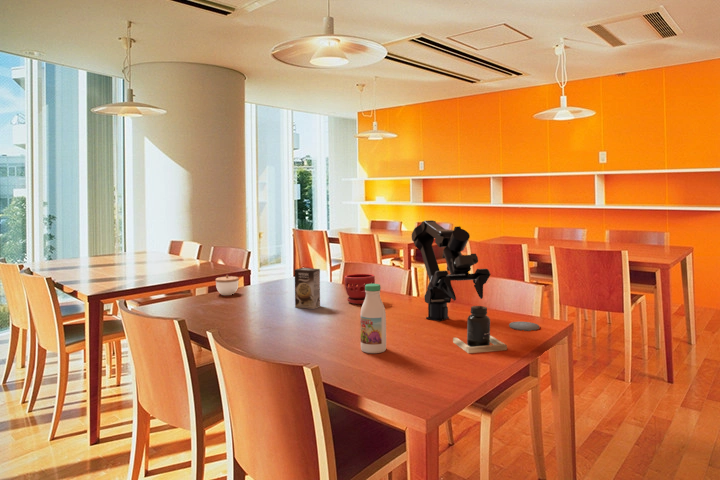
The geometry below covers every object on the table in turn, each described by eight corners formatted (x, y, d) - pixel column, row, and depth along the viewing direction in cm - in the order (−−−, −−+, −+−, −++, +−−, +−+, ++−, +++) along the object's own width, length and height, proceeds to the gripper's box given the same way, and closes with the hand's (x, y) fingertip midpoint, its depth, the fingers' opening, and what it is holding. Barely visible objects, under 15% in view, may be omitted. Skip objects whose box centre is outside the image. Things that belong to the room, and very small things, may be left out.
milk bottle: (369, 344, 154) (369, 281, 152) (391, 348, 149) (390, 283, 147) (355, 351, 147) (354, 285, 146) (377, 355, 143) (376, 287, 141)
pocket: (453, 342, 155) (453, 337, 155) (489, 339, 157) (489, 334, 157) (468, 353, 144) (468, 348, 144) (506, 350, 146) (507, 345, 146)
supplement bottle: (490, 349, 147) (491, 310, 146) (467, 348, 149) (467, 309, 147) (489, 342, 154) (489, 305, 153) (466, 341, 155) (467, 304, 154)
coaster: (504, 327, 171) (504, 326, 171) (515, 321, 179) (515, 320, 178) (533, 332, 164) (533, 330, 164) (543, 326, 172) (543, 324, 172)
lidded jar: (212, 296, 233) (211, 276, 232) (222, 291, 243) (221, 273, 242) (233, 296, 231) (232, 276, 230) (242, 292, 241) (242, 273, 240)
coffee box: (294, 307, 206) (293, 269, 205) (302, 304, 212) (301, 267, 211) (313, 309, 203) (313, 270, 201) (321, 305, 209) (320, 268, 207)
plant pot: (380, 300, 217) (380, 274, 216) (364, 306, 206) (364, 278, 205) (355, 297, 224) (355, 271, 223) (339, 303, 213) (338, 276, 212)
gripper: (434, 246, 159) (448, 286, 149) (488, 244, 163) (504, 282, 153) (426, 267, 167) (438, 306, 157) (477, 264, 171) (492, 302, 161)
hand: (468, 299), depth 157 cm, fingers open, 9 cm apart
